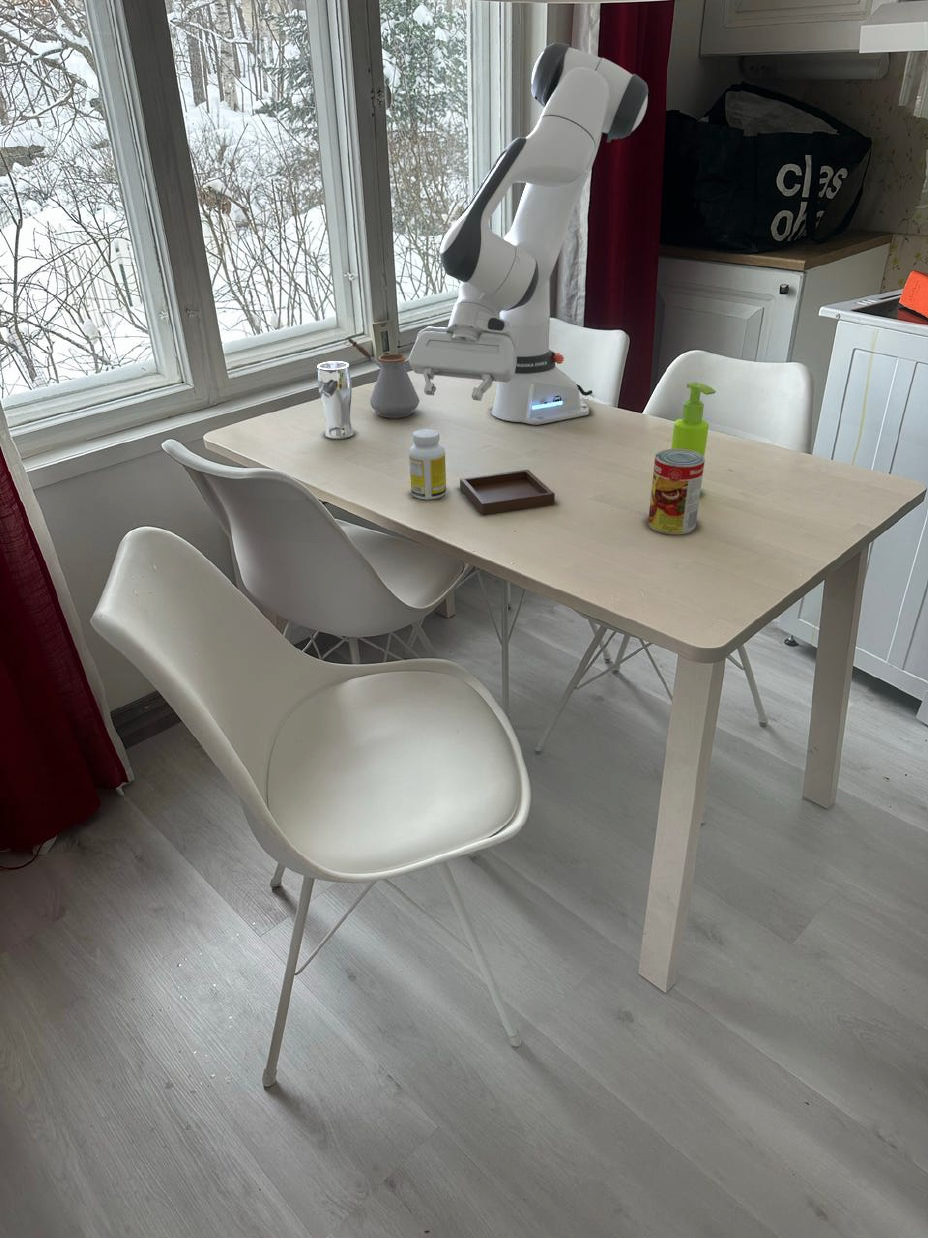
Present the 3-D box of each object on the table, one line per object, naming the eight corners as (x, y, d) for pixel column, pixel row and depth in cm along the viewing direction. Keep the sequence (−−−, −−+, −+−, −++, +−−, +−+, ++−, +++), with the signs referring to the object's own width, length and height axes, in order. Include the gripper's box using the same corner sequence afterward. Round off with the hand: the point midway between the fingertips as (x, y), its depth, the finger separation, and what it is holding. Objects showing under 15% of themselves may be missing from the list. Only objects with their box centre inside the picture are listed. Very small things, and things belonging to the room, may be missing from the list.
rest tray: (527, 479, 163) (528, 469, 162) (554, 504, 153) (554, 493, 152) (460, 489, 160) (459, 478, 159) (482, 515, 150) (482, 503, 148)
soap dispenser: (684, 503, 153) (698, 391, 142) (659, 490, 158) (671, 381, 148) (709, 497, 155) (725, 386, 145) (684, 484, 160) (698, 377, 150)
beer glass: (353, 439, 184) (347, 369, 177) (320, 439, 185) (313, 369, 177) (357, 429, 190) (351, 360, 183) (326, 429, 191) (319, 361, 183)
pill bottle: (451, 489, 160) (449, 428, 154) (439, 502, 154) (437, 440, 148) (418, 485, 162) (416, 425, 156) (405, 498, 156) (402, 436, 150)
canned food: (657, 511, 150) (664, 445, 144) (701, 520, 146) (711, 453, 140) (641, 528, 144) (648, 460, 138) (687, 538, 140) (696, 468, 134)
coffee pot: (430, 412, 200) (427, 346, 193) (393, 423, 193) (389, 356, 186) (369, 394, 213) (365, 332, 205) (333, 405, 206) (327, 341, 198)
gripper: (415, 316, 161) (395, 381, 158) (518, 324, 154) (499, 392, 152) (425, 335, 167) (406, 399, 164) (525, 344, 160) (507, 410, 157)
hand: (452, 396), depth 158 cm, fingers open, 8 cm apart
